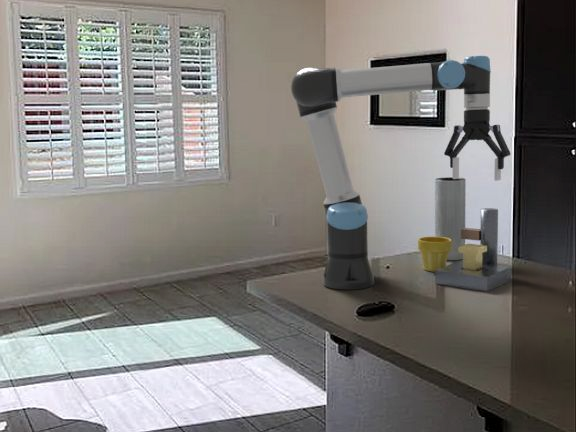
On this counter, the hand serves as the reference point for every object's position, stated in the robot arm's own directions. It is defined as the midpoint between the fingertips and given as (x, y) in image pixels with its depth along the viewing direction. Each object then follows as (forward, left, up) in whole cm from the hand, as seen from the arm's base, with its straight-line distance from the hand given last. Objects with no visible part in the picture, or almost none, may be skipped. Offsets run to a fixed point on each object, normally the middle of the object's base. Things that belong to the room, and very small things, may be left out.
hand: (476, 179), depth 205 cm
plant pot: (-12, -4, -29) cm, 32 cm away
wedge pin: (+5, -12, -29) cm, 32 cm away
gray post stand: (+5, -10, -29) cm, 31 cm away
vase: (-16, +14, -29) cm, 36 cm away
